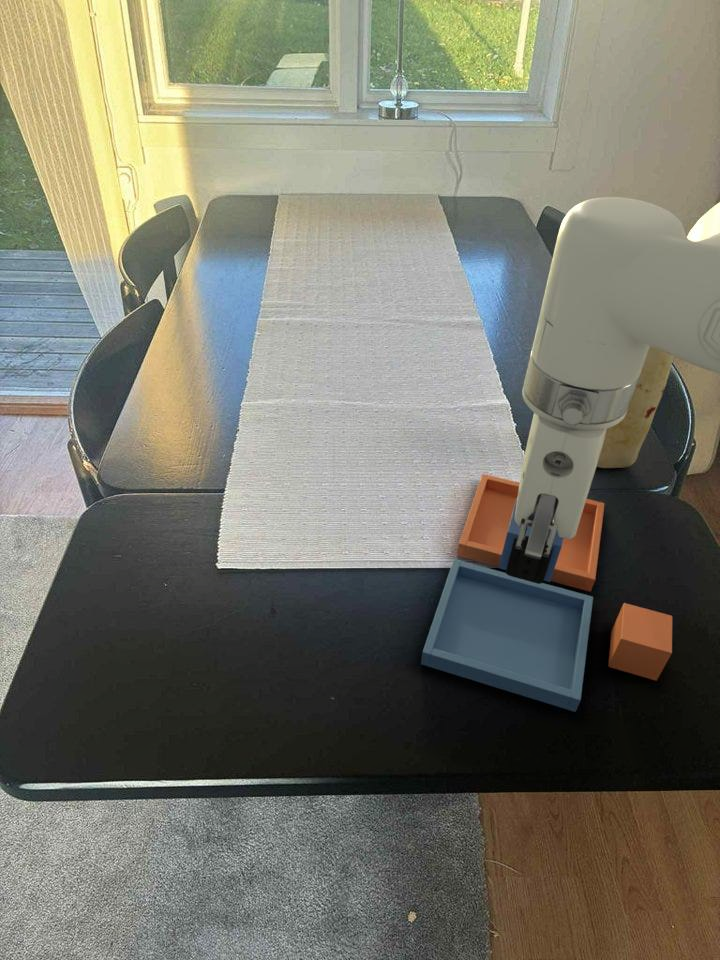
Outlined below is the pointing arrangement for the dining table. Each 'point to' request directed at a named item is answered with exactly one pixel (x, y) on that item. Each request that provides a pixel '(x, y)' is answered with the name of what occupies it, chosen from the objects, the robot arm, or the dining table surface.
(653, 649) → the terracotta block
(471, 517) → the terracotta tray
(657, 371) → the food model
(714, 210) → the robot arm
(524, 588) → the blue tray
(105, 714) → the dining table surface
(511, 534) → the blue block
